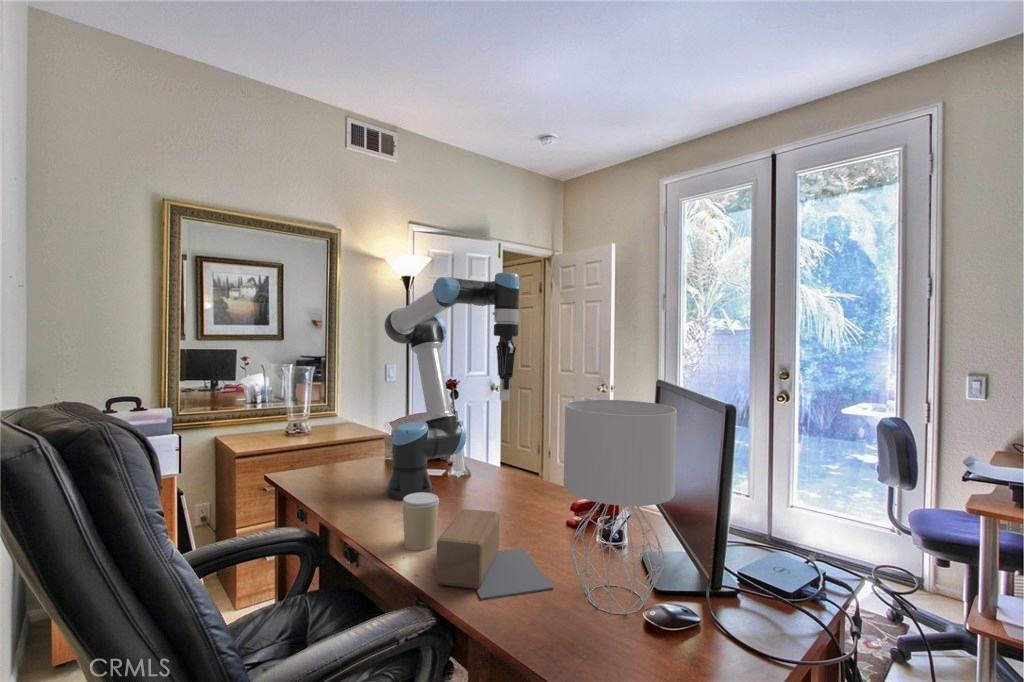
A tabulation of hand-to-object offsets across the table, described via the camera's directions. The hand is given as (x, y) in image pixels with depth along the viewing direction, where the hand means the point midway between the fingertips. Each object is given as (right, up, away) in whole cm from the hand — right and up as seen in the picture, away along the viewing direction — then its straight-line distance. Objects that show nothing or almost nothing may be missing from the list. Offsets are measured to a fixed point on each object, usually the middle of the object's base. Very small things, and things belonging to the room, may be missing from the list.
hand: (504, 399), depth 151 cm
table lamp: (+24, -36, -49) cm, 65 cm away
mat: (+1, -35, -39) cm, 52 cm away
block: (-6, -29, -28) cm, 41 cm away
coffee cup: (-21, -34, -25) cm, 48 cm away
